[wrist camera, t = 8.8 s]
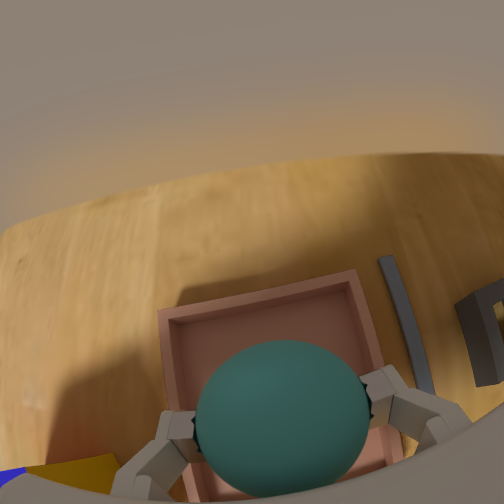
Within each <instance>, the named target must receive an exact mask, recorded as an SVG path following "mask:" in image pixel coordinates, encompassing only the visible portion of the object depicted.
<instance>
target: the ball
mask: <svg viewBox="0 0 504 504" xmlns="http://www.w3.org/2000/svg"><path fill="white" fill-rule="evenodd" d="M369 424H370V410H369V404H368V399H367V396H366V392H365V390H364V388H363V386H362V383H361V381H360V380H359V378H358V377H357V375H356V374H355V372H354V371H353V370H352V369H351V368H350V367H349V366H348V365H347V364H346V363H345V362H344V361H343V360H342V359H341V358H339V357H338V356H336V355H335V354H333V353H332V352H330V351H328V350H326V349H324V348H322V347H320V346H317V345H314V344H311V343H307V342H302V341H295V340H276V341H269V342H264V343H260V344H256V345H254V346H251V347H249V348H246V349H244V350H242V351H240V352H238V353H237V354H235V355H234V356H232V357H231V358H229V359H228V360H227V361H225V362H224V363H223V364H222V365H221V366H220V367H219V368H218V369H217V370H216V371H215V372H214V373H213V375H212V376H211V377H210V379H209V380H208V382H207V383H206V385H205V387H204V389H203V391H202V393H201V395H200V398H199V402H198V405H197V410H196V424H195V426H196V434H197V439H198V443H199V446H200V449H201V451H202V453H203V456H204V458H205V459H206V461H207V463H208V464H209V466H210V467H211V468H212V469H213V471H214V472H215V473H216V474H217V475H218V476H219V477H220V478H221V479H222V480H223V481H225V482H226V483H227V484H229V485H230V486H232V487H233V488H235V489H237V490H239V491H241V492H243V493H245V494H248V495H251V496H254V497H258V498H267V497H274V496H280V495H286V494H292V493H297V492H302V491H307V490H311V489H316V488H320V487H324V486H328V485H332V484H334V483H335V482H336V481H338V480H339V479H340V478H341V477H342V476H344V475H345V474H346V473H347V472H348V471H349V469H350V468H351V467H352V466H353V465H354V463H355V462H356V460H357V459H358V457H359V455H360V454H361V451H362V449H363V447H364V445H365V442H366V439H367V435H368V431H369Z"/></svg>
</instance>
